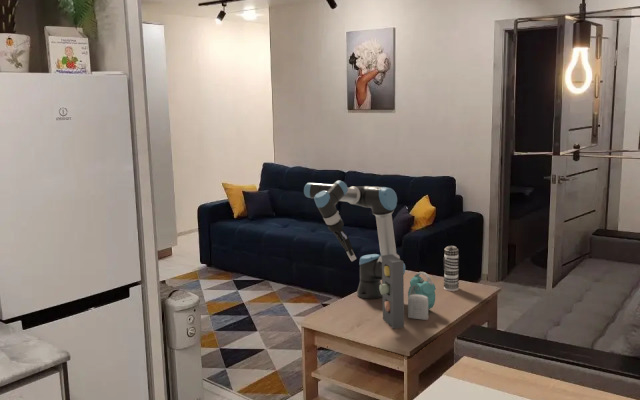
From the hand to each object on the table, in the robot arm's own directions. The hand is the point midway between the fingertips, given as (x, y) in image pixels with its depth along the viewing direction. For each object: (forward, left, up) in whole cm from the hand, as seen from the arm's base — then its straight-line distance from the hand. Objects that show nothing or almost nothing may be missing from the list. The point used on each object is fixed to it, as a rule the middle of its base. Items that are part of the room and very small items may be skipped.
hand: (353, 259), depth 295 cm
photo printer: (-1, +32, -33) cm, 46 cm away
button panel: (+3, +19, -33) cm, 38 cm away
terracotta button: (+4, +17, -26) cm, 31 cm away
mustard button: (+4, +17, -8) cm, 19 cm away
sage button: (+4, +15, -17) cm, 23 cm away
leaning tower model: (-44, +63, -33) cm, 84 cm away
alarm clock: (-13, +37, -33) cm, 51 cm away
